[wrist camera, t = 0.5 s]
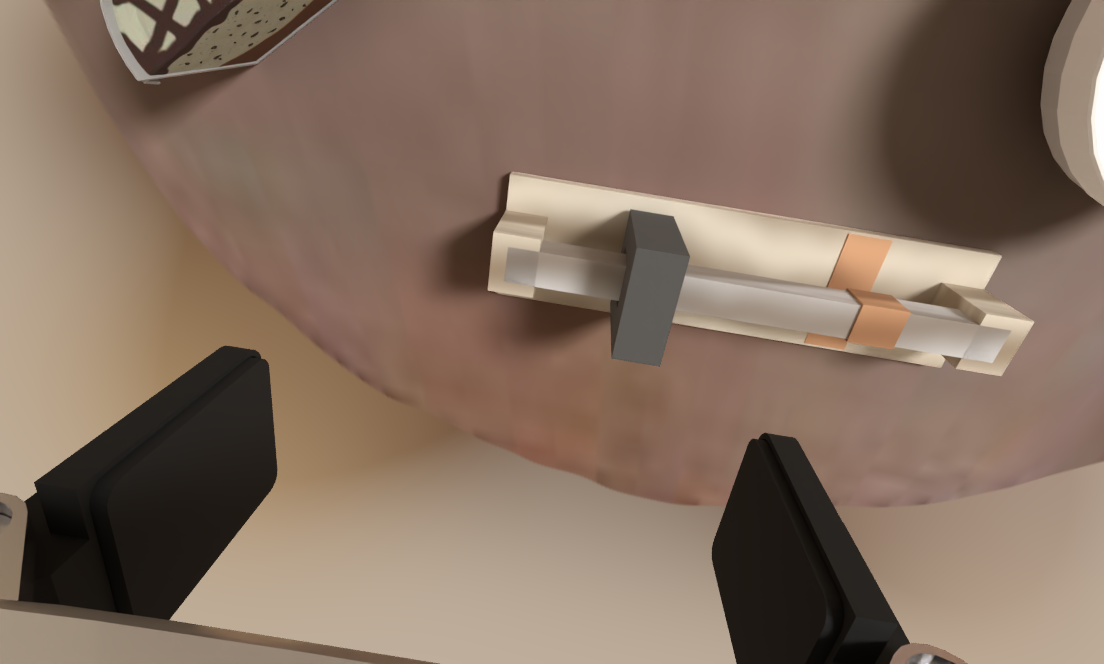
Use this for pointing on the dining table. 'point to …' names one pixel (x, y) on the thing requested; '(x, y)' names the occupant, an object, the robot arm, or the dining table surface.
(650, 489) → the dining table surface
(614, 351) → the collar
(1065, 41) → the bowl
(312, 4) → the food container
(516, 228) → the pipe rig
